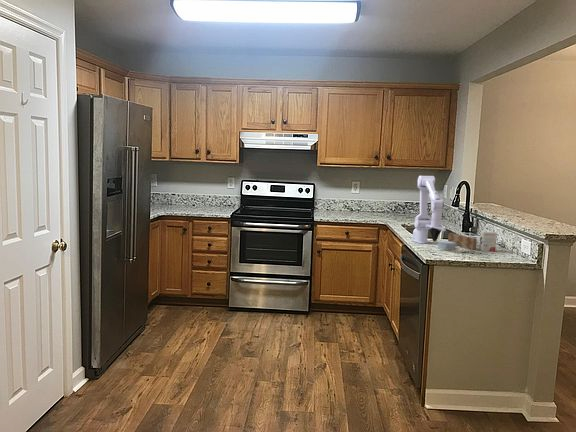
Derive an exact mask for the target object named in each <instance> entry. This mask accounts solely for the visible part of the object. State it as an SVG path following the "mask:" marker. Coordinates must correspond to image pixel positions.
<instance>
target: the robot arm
mask: <svg viewBox="0 0 576 432" xmlns="http://www.w3.org/2000/svg"><path fill="white" fill-rule="evenodd" d="M435 183H436V178H435V176H434V175H419V176H418V177H417V189H419V213H418V214H417V215H416V216H415V217H414V227H415V228H414V229H413V231H412V239H411V242H415V243H418V244H430V243H431V241H428V236H429V233H430V234H431V240H432V242H438V241H437V240H438V238H439V235H440V234H441V232H446V230H447V227H443V226H441V225H442V212H443V209H444V208H445V207H444V206H445V201H444V200H443V199H442V198H441V197H440V195H439V192H438V191H437V190H436V187H435ZM428 192H429V193H428ZM428 196H429V199H430V201H431V202H430V208H431V209H430V211H431V215H429V214H428Z"/></svg>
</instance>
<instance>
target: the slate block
mask: <svg viewBox="0 0 576 432" xmlns="http://www.w3.org/2000/svg"><path fill="white" fill-rule="evenodd" d="M438 247H439V248H438ZM456 247H457V246H456V243H454V242H450V241H448V240H441V241H437V248H438V249H442V248H443V249H442V250H445V249H446V251H447V249H448V250H456V249H457V248H456Z"/></svg>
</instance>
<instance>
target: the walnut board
mask: <svg viewBox="0 0 576 432" xmlns="http://www.w3.org/2000/svg"><path fill="white" fill-rule="evenodd" d="M447 241H450V242H454V243H456V247H458V246H459V248H462V247H463V249H466V248H467V250H471V251H476V250H477V242H478V241H477V238H476V237H470V236H466V235H463V234H462V235H461V234H457V233H453V232H449V233H448V236H447Z"/></svg>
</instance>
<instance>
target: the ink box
mask: <svg viewBox="0 0 576 432" xmlns="http://www.w3.org/2000/svg"><path fill="white" fill-rule="evenodd" d="M497 236H498V233H497V232H495V231H485V230H484V231H483V230H482V231H480V235H479V245H478V250H479V251H481V252H496V248H497Z"/></svg>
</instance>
